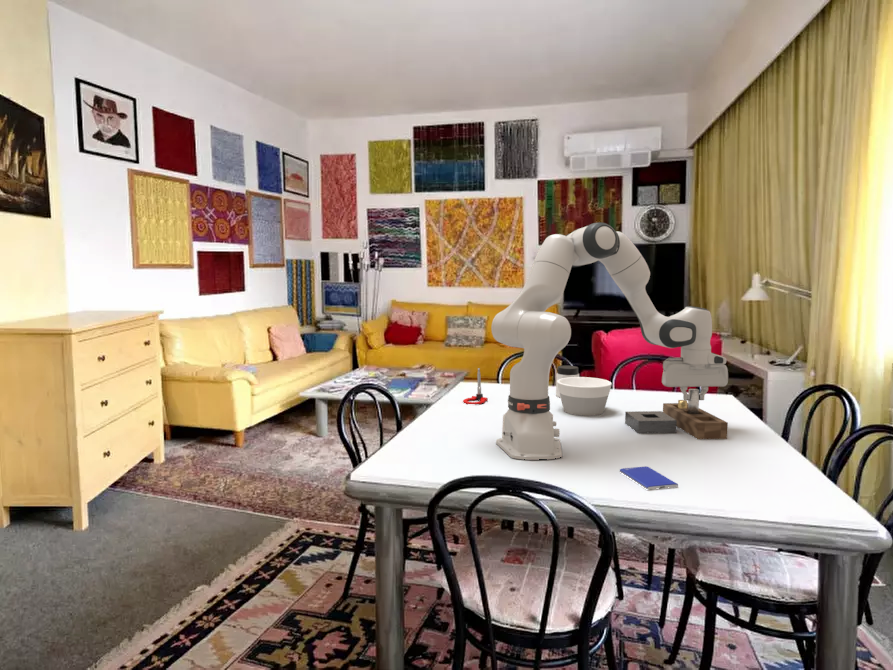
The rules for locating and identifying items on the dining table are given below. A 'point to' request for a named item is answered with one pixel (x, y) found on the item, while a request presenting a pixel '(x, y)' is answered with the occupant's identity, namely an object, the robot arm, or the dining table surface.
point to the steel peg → (693, 401)
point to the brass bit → (682, 404)
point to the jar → (565, 375)
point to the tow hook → (479, 395)
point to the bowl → (584, 395)
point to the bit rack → (697, 422)
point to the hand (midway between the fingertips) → (693, 400)
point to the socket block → (650, 422)
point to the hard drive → (648, 477)
